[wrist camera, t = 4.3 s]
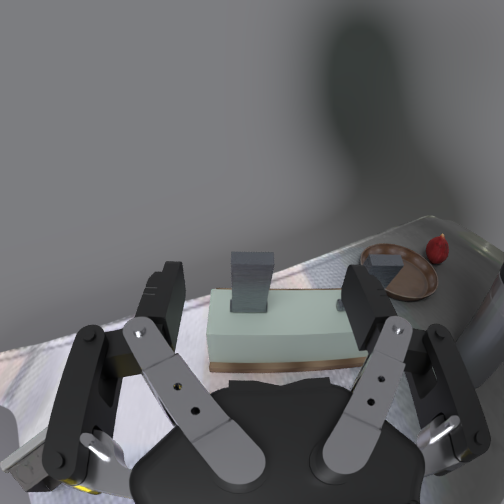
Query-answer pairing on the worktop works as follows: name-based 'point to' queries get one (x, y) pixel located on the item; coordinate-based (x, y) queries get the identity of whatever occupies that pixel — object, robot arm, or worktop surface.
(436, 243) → the onion
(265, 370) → the brown rectangular board
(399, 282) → the plant saucer
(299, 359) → the block
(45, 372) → the worktop surface
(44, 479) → the electrical switch
